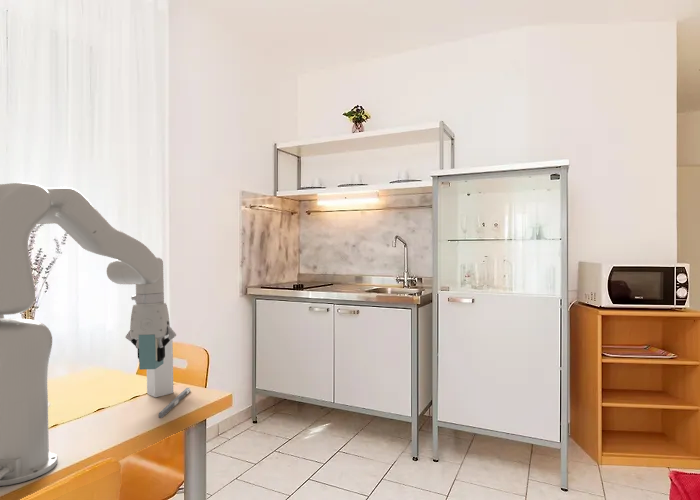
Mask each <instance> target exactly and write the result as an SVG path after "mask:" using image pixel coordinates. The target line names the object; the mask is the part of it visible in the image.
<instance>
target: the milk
mask: <svg viewBox="0 0 700 500" xmlns="http://www.w3.org/2000/svg"><path fill="white" fill-rule="evenodd" d="M168 336H169V334H168V335H166V336H165V339H166V338H167V337H168ZM173 340H174V338H173V339H172V340H170V341H169V342H168V343H167V345H166V346H165V357H164V359H163V364H162V365H161V366H159V367H158V368H156V369H146V394H148V395H149V396H151V397H153V398H159V397H163V396H166V395H170V394H173V393H174V348H173V347H174V346H173V344H174V343H173Z"/></svg>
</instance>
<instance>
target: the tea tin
mask: <svg viewBox="0 0 700 500" xmlns="http://www.w3.org/2000/svg"><path fill="white" fill-rule="evenodd" d="M157 348H159V345H158V342H157V339H155V335H139V359H138V363H139V364H138V365H139V366H138V367H139V371H140V370H142V371H144V370H147V369H156V368H158V367H159V366H161V365H162V364H163V360H162V361H160V362H158V361H157Z"/></svg>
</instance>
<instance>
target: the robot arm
mask: <svg viewBox="0 0 700 500" xmlns="http://www.w3.org/2000/svg"><path fill="white" fill-rule="evenodd" d="M49 224H51V225H52V224H54V225H55V224H56V225H58V226H59V227H61V229H62V230H63V231H65V233H66V234H67V235H68V236H70V237H71V238H72V239H73V240H74V241H75V242H76V243H77V244H78V245H79V246H80V247H81V248H83V250H85V251H87V252H90V253H93V254H96V255H99V256H102V257H108V258H111V259H114V260H111V261H110V262H109V264H108V265H107V267H106V276H107V278H108V279H109V280H110V281H111V282H112V283H114V284H117V285H135V294H134V295H132V296H131V298H130V299H131V301H135V304H133V305H132V308H131V309H132V310H131V313H130V314H131V315H130V327H129V329H130V330H129V331H128V332H127V333H126V335H125V339H126V340H128V341H129V342H130V343H132V344H133V345H134V347H135V348H136V349H137V359H138V360H139V335H155V339H157V342H158V345H159V348H157V361H158V362H160V361H162V360H163V359H164V357H165V346H166V345H167V343H168V342H169V341H170V340H172V339H173V340H174V339H175V338H176V336H177V333H176V332H175V331H174V330H173V328H172V327H171V323H170V315H169V310H168V309H169V308H168V306H167V302H165V292H164V291H165V288H164V282H165V281H164V261H163V259H162V258H160V257H156V255H155V254H154V253H153V252H152V250H150V249H149V247H147V245H145V244H144V243H143V242H141V241H140V240H138V239H136V238H134V237H132V236H130V235H128V234H127V233H125V232H123V231H121V230H119V229H118V228H115V227H113V226H112V225H111V224H110V222H108V221H107V220H106V219H105V218H104V216H103V215H102V214H101V212H99V211H98V210H97V209H96V207H94V205H93V204H92V203H91V202H90V201H89V199H88V198H86V197H85V196H84V195H83V193H81V192H80V191H79V190H78V189H76V188H73V187H67V186H63V187H62V186H60V187H59V186H58V187H44V186H42V185H40V184H38V183H37V184H36V183H32V182H11V183H1V184H0V487H1V486H4V487H5V486H10V485H15V484H20V483H24V482H27V481H29V480H33V479H35V478H38V477H40V476H43V475H45V474H46V473H48V472H50V471H51V470H52V469H54V468H55V467H56V466H57V465H58V463H59V462H58V461H59V459H58V455H57V454H56V453H54V452H51V451H50V449H49V448H50V447H49V404H48V403H49V397H48V396H49V394H48V392H49V389H48V374H49V373H48V371H49V363H50V358H51V352H52V349H53V348H52V347H53V335H52V331H51V330H50V328H49V327H47V325H45V324H44V323H43V322H40V321H38V320H35V319H30V318H28V319H27V318H11V317H10V318H5V316H6V315H8V316H9V315H10V316H11V315H19V314H22V313H24V312H26V311H28V310H29V309H31V308H32V306H33V305H34V304H35V299H36V288H35V287H36V286H35V284H34V283H35V282H34V277H33V276H34V275H33V271H32V266H31V262H30V255H29V240H30V237H31V234H32V232H33V230H34V228H35V227H36V226H37V225H49ZM168 334H169V336H168V337H167V338H166V339H165V336H166V335H168Z"/></svg>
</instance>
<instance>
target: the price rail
mask: <svg viewBox="0 0 700 500" xmlns="http://www.w3.org/2000/svg"><path fill="white" fill-rule="evenodd" d="M189 393H191V387H186V388H184V390H182V392H180V393H179V394H178V395H177V396H176V397H175V398H174V399H172V400H171V402H169V403H168V404H167V405H166V406H165V407H164V408H163V409H162V410H160V411H159V412H158V418H164V416H166V415H167V414H168V413H169V412H170V411H171V410H172V409H173V408H174V407H176V406H177V405H178V404H179V403H180V401H181V400H183V399H184V398H185V397H186V396H187V395H188V394H189Z"/></svg>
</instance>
